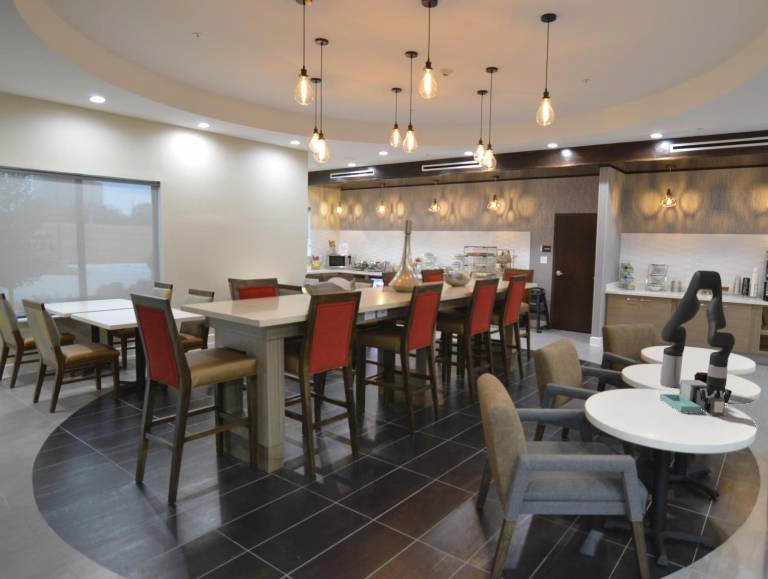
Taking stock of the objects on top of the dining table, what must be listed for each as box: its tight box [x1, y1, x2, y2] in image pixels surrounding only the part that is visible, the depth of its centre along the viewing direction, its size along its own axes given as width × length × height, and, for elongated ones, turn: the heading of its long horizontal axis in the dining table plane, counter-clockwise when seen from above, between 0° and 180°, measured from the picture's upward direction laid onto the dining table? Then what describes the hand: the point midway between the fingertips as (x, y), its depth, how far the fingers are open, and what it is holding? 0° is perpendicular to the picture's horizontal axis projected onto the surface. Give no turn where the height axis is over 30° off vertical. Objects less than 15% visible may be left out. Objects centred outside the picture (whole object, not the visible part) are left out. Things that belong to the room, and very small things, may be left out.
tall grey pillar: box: [694, 390, 725, 417], centre depth 238 cm, size 13×5×8 cm, turn 179°
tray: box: [659, 393, 702, 414], centre depth 245 cm, size 18×9×3 cm, turn 0°
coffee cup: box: [694, 371, 708, 384], centre depth 258 cm, size 9×8×13 cm
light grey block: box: [678, 379, 707, 402], centre depth 250 cm, size 9×9×10 cm
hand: (713, 410), depth 236 cm, fingers closed on tall grey pillar, 5 cm apart
